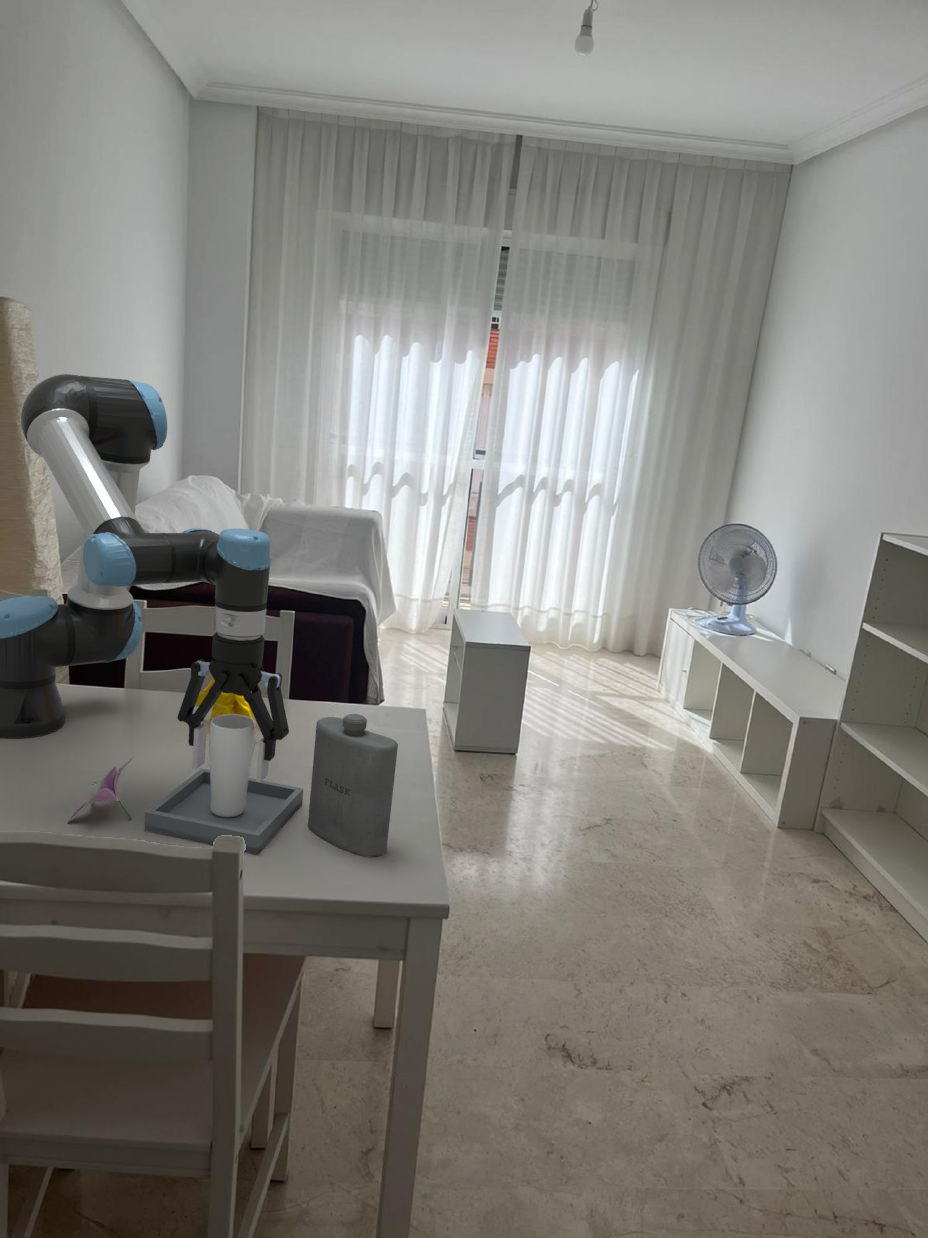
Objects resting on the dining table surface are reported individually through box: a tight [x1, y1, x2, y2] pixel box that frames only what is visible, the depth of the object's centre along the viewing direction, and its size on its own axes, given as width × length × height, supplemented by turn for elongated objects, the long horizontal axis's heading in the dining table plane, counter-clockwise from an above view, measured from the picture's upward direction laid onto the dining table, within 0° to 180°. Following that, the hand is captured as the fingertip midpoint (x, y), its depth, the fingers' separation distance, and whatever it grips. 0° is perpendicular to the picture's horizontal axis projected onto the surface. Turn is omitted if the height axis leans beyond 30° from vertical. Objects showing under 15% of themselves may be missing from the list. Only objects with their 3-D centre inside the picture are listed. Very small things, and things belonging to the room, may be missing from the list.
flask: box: [307, 713, 399, 858], centre depth 140 cm, size 15×6×20 cm, turn 53°
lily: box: [67, 757, 133, 823], centre depth 139 cm, size 12×12×10 cm
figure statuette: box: [195, 677, 258, 729], centre depth 178 cm, size 18×8×22 cm, turn 57°
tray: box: [144, 768, 304, 855], centre depth 144 cm, size 18×18×3 cm
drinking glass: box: [208, 714, 256, 817], centre depth 142 cm, size 7×7×15 cm
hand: (230, 772), depth 143 cm, fingers open, 10 cm apart
